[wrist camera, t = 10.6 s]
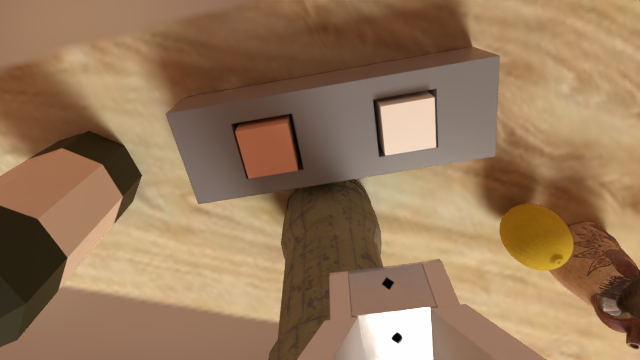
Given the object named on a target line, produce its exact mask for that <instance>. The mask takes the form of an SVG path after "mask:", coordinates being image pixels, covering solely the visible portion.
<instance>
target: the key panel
mask: <svg viewBox="0 0 640 360" xmlns="http://www.w3.org/2000/svg"><path fill="white" fill-rule="evenodd" d="M499 61H500V56H499V55H496V54H493V53H490V52H487V51H484V50H481V49H478V48H475V47H468V48H463V49H457V50H451V51H446V52H440V53H434V54H429V55H423V56H417V57H412V58H406V59H400V60H395V61H389V62H383V63H378V64H372V65H366V66H361V67H355V68H349V69H343V70H338V71H332V72H326V73H321V74H315V75H309V76H304V77H298V78H292V79H287V80H281V81H275V82H270V83H264V84H258V85H253V86H247V87H241V88H236V89H230V90H224V91H219V92H213V93H207V94H202V95H196V96H190V97H185V98H184V99H183V100H181V101H180V102H179V103H178V104H177V105H176V106H174V107H173V108H172V109H171V110H170V111H169V112H167V113H166V116H167V119H168V122H169V125H170V127H171V130H172V133H173V136H174V138H175V141H176V144H177V147H178V149H179V152H180V155H181V158H182V161H183V163H184V166H185V169H186V172H187V174H188V177H189V180H190V183H191V185H192V188H193V191H194V194H195V196H196V199H197V202H198V204H203V203H209V202H215V201H222V200H228V199H234V198H240V197H246V196H253V195H259V194H265V193H271V192H277V191H283V190H290V189H296V188H302V187H308V186H314V185H321V184H327V183H333V182H339V181H345V180H352V179H358V178H364V177H370V176H376V175H383V174H389V173H395V172H401V171H407V170H414V169H420V168H426V167H432V166H438V165H445V164H451V163H457V162H463V161H469V160H475V159H482V158H488V157H494V156H495V149H496V127H497V105H498V83H499ZM420 91H428V92H429V93H430V94H431V95H432V96H434V97H435V127H436V148H430V149H424V150H418V151H411V152H405V153H399V154H393V155H387V156H385V154H384V152H383V150H382V148H381V146H380V144H379V141H378V136H377V127H376V117H375V108H374V99H379V98H385V97H391V96H396V95H402V94H408V93H414V92H420ZM286 114H291V119H292V124H293V129H294V134H295V138H296V143H297V148H298V153H299V157H298V171H292V172H286V173H280V174H274V175H268V176H262V177H256V178H249V179H248V175H247V172H246V168H245V165H244V161H243V158H242V154H241V150H240V147H239V143H238V140H237V136H236V133H235V131H236V129H237V127H238V125H239V123H240V122H245V121H251V120H256V119H262V118H268V117H274V116H280V115H286Z"/></svg>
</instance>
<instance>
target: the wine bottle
mask: <svg viewBox="0 0 640 360" xmlns="http://www.w3.org/2000/svg"><path fill="white" fill-rule="evenodd" d="M141 177H142V175H141V173H140V171H139V170H138V168H137V166H136V165H135V163H134V161H133V160H132V158H131V156H130V155H129V153H128V151H127V149H126V148H125V146H123V145H121V144H119V143H116V142H114V141H111V140H109V139H107V138H104V137H102V136H99V135H97V134H95V133H92V132H90V131H88V132H85V133H82V134H79V135H76V136H73V137H70V138H67V139H64V140H61V141H58V142H56V143H55V144H53V145H51V146H50V147H48V148H46V149H45V150H43V151H41V152H40V153H38V154H36V155H35V156H33V157H31V158H30V159H28V160H26V161H25V162H23V163H21V164H20V165H18V166H16V167H15V168H13V169H11V170H10V171H8V172H6V173H5V174H3V175H1V176H0V347H1V346H4V345H6V344H8V343H11V342H14V341H16V340H18V338H19V337H20V336H21V335H22V334H23V332H24V331H25V330H26V329H27V328H28V326H29V325H30V324H31V323H32V322H33V320H34V319H35V318H36V317H37V315H38V314H39V313H40V312H41V311H42V310H43V308H44V307H45V306H46V305H47V304H48V302H49V301H50V300H51V299H52V298H53V296H54V295H55V294H56V293H57V292H58V290H59V289H60V288H61V287H62V286H63V284H64V283H65V282H66V281H67V280H68V278H69V277H70V276H71V275H72V274H73V273H74V271H75V270H76V269H77V268H78V267H79V265H80V264H81V263H82V262H83V261H84V259H85V258H86V257H87V256H88V255H89V253H90V252H91V251H92V250H93V249H94V247H95V246H96V245H97V244H98V243H99V241H100V240H101V239H102V238H103V237H104V235H105V234H106V233H107V232H108V231H109V229H110V228H111V227H112V226H113V225H114V223H115V222H116V221H117V220H118V219H119V217H120V216H121V215H122V214H123V213H124V211H125V210H126V209H127V208H128V207H129V205H130V204H131V203H132V202H133V200H134V197H135V194H136V191H137V188H138V185H139V182H140V179H141Z"/></svg>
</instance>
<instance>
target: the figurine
mask: <svg viewBox="0 0 640 360" xmlns="http://www.w3.org/2000/svg"><path fill="white" fill-rule="evenodd" d="M568 228H569V230H570V232H571V235H572V238H573V251H572V254H571V256H570V258H569V259H568V261H567V262H566V263H565V264H563V265H562V266H560V267H558V268H556V269H552V270H549V271H550V272H551V274H552V275H553V276H554V277H555V279H557V280H558V281H559V282H560V283H561V284H562V285H563V286H564V287H565V288H567V289H568V290H569V291H570V292H572V293H573V294H574V295H576V296H577V297H579V298H580V299H581V300H583V301H584V302H586V303H587V304H588V305H590V306H592V307H594V309H595V312H596V314H597V316H598V317H599V318H600V320H601V321H602V322H603V323H604V324H605V325H607V326H608V327H609V328H611V329H613V330H615V331H618V332H622V333H627V337H626V343H627V345H628V346H629V347H631V348H634V349H640V270H639V269H638V267H637V266H636V264H635V263H634V262H633V260H632V259H631V258H630V257H629V256H628V255H627V254H626V253H625V252H624V251H623V249H622V248H621V247H620V245H619V244H618V242H617V241H616V239H615V238H614V237H612V236H611V235H610V234H608V233H607V232H606V231H605V230H603V229H602V228H601V227H599V226H598V225H597V224H595V223H593V222H581V223H577V224H573V225H570V226H568ZM609 313H610V314H614V315H618V316H614V315H610V314H609Z"/></svg>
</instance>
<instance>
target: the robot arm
mask: <svg viewBox="0 0 640 360" xmlns="http://www.w3.org/2000/svg"><path fill="white" fill-rule="evenodd" d="M329 290H330V320H326V321H324V322H323V324H322V325H321V327H320V328H319V329H318V331H317V332H316V334H315V335H314V336H313V338H312V339H311V341H310V342H309V343H308V345H307V346H306V348H305V349H304V351H303V352H302V353H301V355H300V356H299V358H298V359H297V360H428V359H433V360H546V359H545V358H543V357H542V356H540V355H539V354H537V353H536V352H535V351H533V350H532V349H530V348H529V347H527V346H526V345H524V344H523V343H522V342H520V341H519V340H517V339H516V338H514V337H513V336H511V335H510V334H508V333H507V332H506V331H504V330H503V329H501V328H500V327H498V326H497V325H495V324H494V323H493V322H491V321H490V320H488V319H487V318H485V317H484V316H482V315H481V314H480V313H478V312H477V311H475V310H474V309H472V308H471V307H469V306H468V305H466V304H462V305H460V304H459V301H458V299H457V296H456V294H455V292H454V289H453V287H452V285H451V282H450V280H449V277H448V275H447V273H446V270H445V268H444V266H443V263H442V261H441V260H440V259H436V260H429V261H422V262H417V263H409V264H402V265H395V266H387V267H380V268H370V269H360V270H351V271H349V272H348V271H345V272H335V273H330V276H329Z"/></svg>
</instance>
